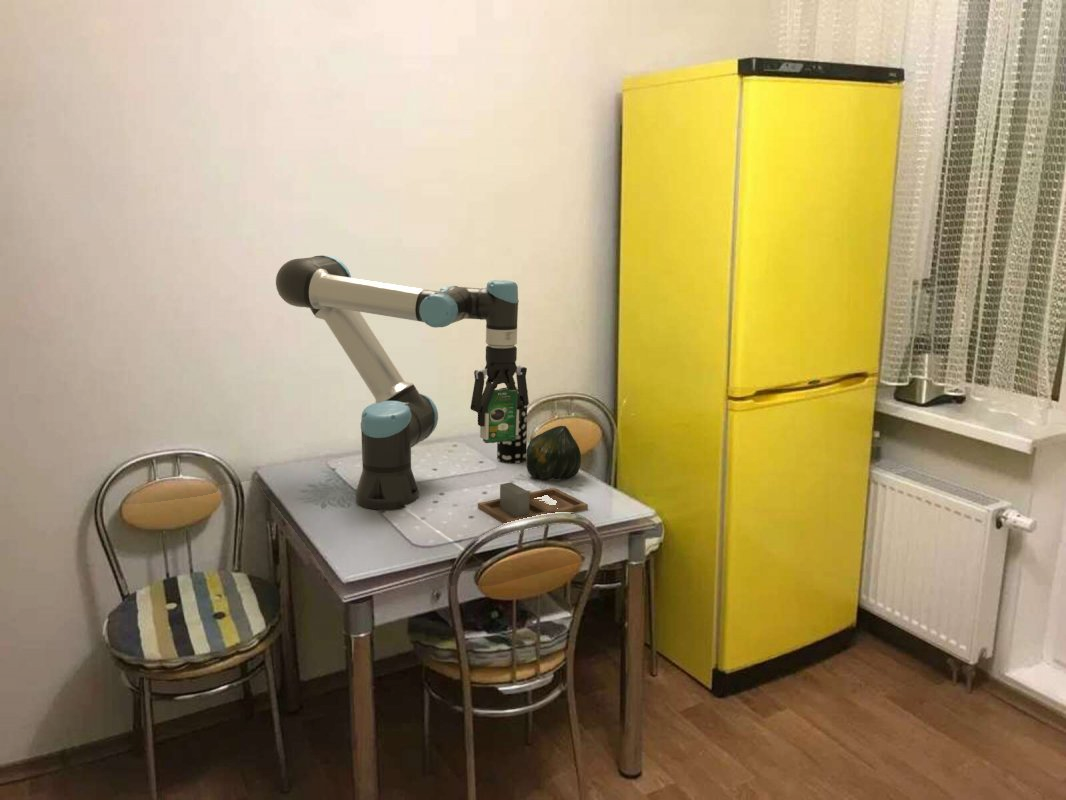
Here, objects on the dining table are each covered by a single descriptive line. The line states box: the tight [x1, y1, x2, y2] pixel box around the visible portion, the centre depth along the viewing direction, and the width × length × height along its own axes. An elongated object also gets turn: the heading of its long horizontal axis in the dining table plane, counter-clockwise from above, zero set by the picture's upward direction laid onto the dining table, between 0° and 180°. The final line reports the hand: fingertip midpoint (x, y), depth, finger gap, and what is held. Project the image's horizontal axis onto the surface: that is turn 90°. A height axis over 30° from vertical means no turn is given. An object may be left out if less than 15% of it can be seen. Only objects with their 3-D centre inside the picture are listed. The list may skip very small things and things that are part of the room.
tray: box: [477, 487, 589, 524], centre depth 203 cm, size 22×14×2 cm, turn 124°
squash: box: [526, 425, 582, 481], centre depth 228 cm, size 14×15×15 cm
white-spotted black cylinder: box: [496, 386, 529, 464], centre depth 242 cm, size 8×8×20 cm
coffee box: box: [482, 388, 518, 444], centre depth 211 cm, size 8×3×13 cm, turn 114°
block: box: [499, 482, 530, 518], centre depth 200 cm, size 3×8×6 cm, turn 34°
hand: (499, 436), depth 212 cm, fingers closed on coffee box, 8 cm apart
